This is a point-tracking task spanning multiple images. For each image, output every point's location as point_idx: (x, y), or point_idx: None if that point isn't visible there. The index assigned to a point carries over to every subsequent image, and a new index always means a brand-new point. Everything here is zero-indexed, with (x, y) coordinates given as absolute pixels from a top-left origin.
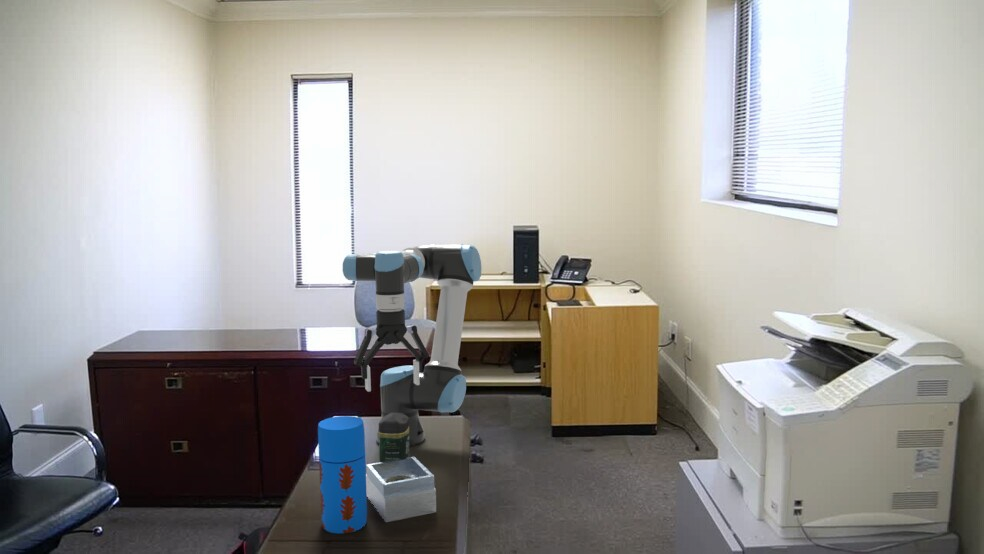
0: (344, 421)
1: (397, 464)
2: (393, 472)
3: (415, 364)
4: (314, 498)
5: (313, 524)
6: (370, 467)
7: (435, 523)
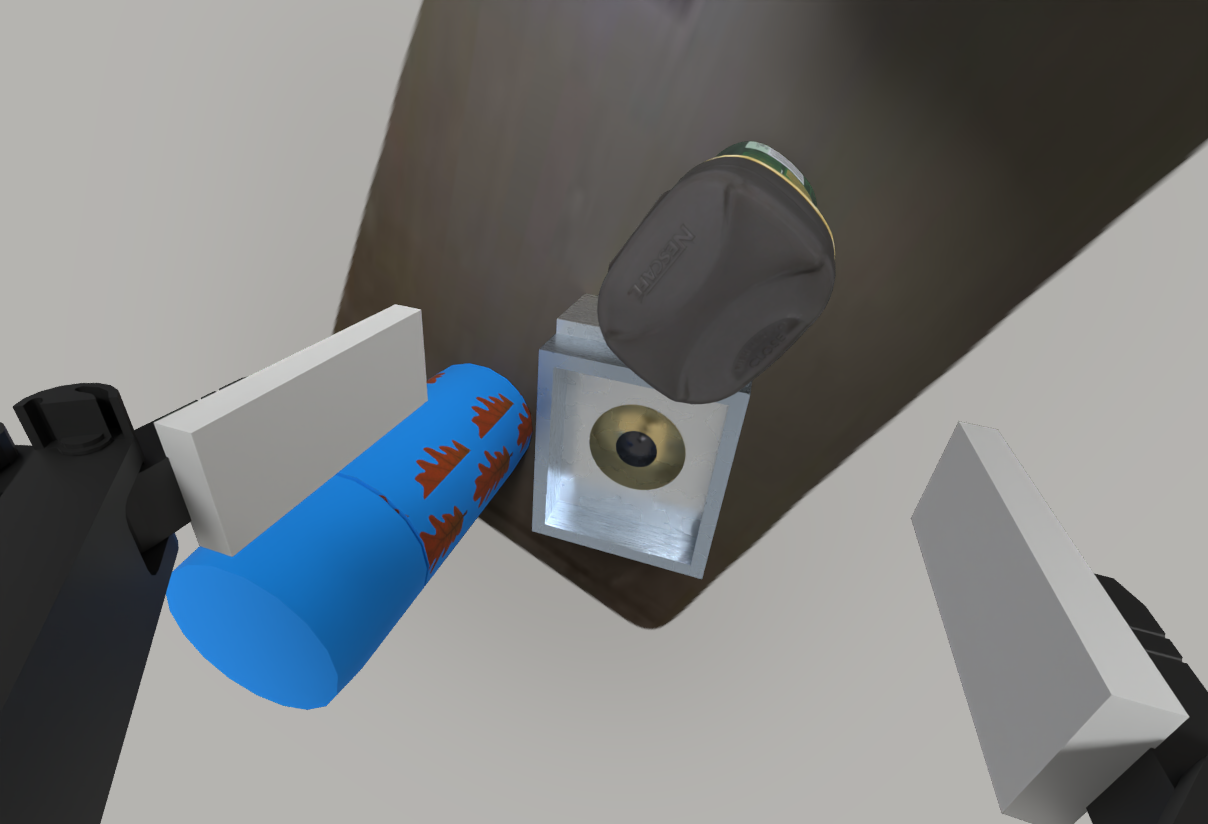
0: (264, 639)
1: None
2: None
3: (1006, 717)
4: (433, 200)
5: None
6: (543, 385)
7: None
